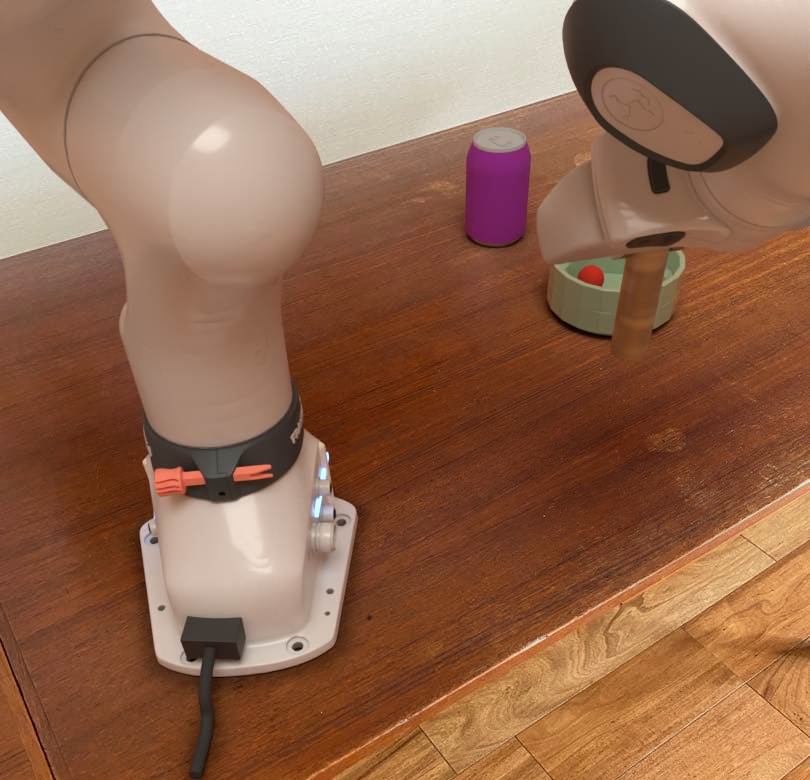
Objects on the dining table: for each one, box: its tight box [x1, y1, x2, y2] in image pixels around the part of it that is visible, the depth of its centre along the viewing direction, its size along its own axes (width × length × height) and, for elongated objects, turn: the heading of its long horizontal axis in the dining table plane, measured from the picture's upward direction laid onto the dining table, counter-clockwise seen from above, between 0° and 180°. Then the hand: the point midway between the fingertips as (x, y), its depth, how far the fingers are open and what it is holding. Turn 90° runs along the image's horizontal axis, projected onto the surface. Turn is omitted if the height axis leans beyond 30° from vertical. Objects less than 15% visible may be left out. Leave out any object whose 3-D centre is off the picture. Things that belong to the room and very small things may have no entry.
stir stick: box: [609, 248, 670, 362], centre depth 65 cm, size 3×3×16 cm
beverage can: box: [464, 126, 532, 248], centre depth 105 cm, size 8×8×12 cm
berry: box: [577, 265, 604, 287], centre depth 97 cm, size 3×3×3 cm
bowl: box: [546, 250, 686, 337], centre depth 96 cm, size 14×14×6 cm
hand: (644, 244), depth 65 cm, fingers closed on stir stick, 3 cm apart
